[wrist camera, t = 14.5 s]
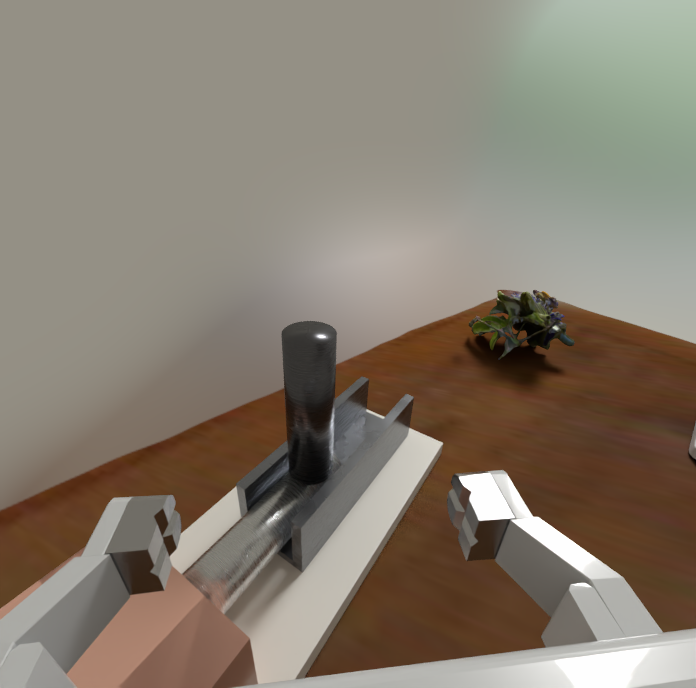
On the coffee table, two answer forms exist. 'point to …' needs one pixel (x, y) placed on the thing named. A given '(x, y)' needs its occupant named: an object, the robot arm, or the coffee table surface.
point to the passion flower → (524, 321)
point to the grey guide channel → (346, 483)
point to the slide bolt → (297, 485)
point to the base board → (313, 565)
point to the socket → (162, 642)
